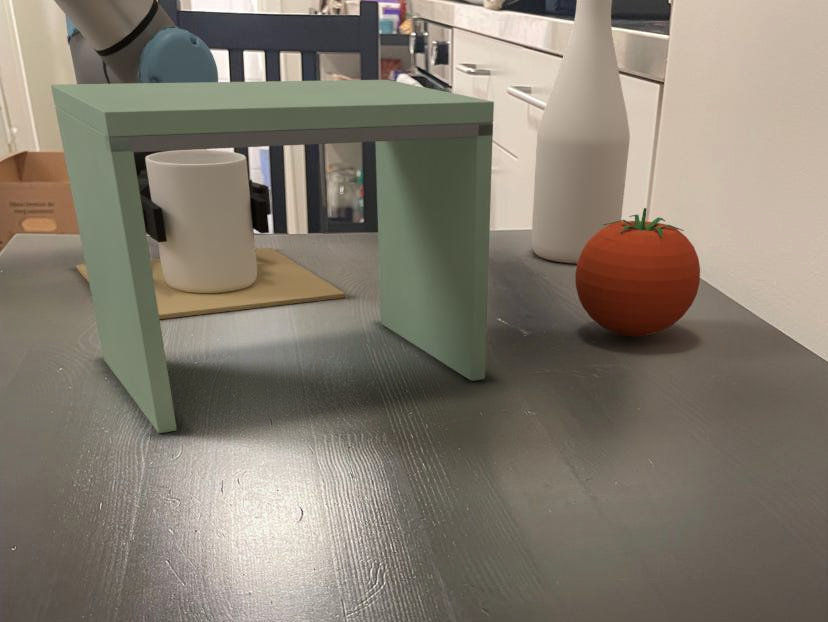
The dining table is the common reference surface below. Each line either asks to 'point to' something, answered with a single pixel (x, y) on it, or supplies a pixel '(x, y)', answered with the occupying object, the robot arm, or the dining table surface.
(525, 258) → the dining table surface
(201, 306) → the mat
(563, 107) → the wine bottle
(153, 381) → the shelf compartment
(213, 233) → the mug
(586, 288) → the tomato
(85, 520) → the dining table surface
